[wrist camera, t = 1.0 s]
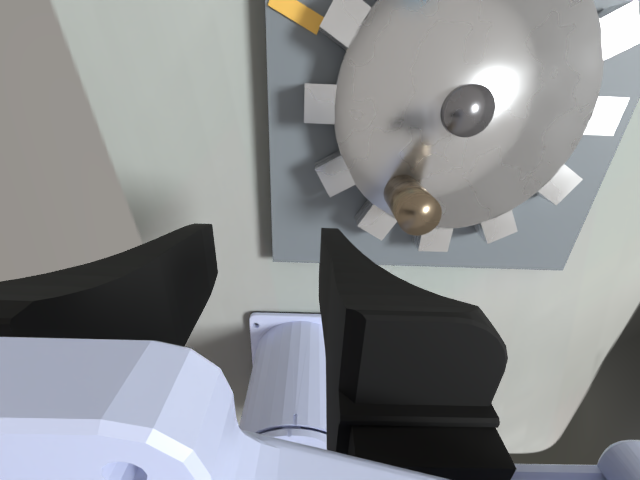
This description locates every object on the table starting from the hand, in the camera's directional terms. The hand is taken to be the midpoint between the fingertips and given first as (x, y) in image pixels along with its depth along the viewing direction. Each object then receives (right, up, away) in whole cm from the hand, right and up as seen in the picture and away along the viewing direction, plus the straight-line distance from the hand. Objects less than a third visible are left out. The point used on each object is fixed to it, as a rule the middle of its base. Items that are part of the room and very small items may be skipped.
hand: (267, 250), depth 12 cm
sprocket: (+9, +8, +6) cm, 13 cm away
